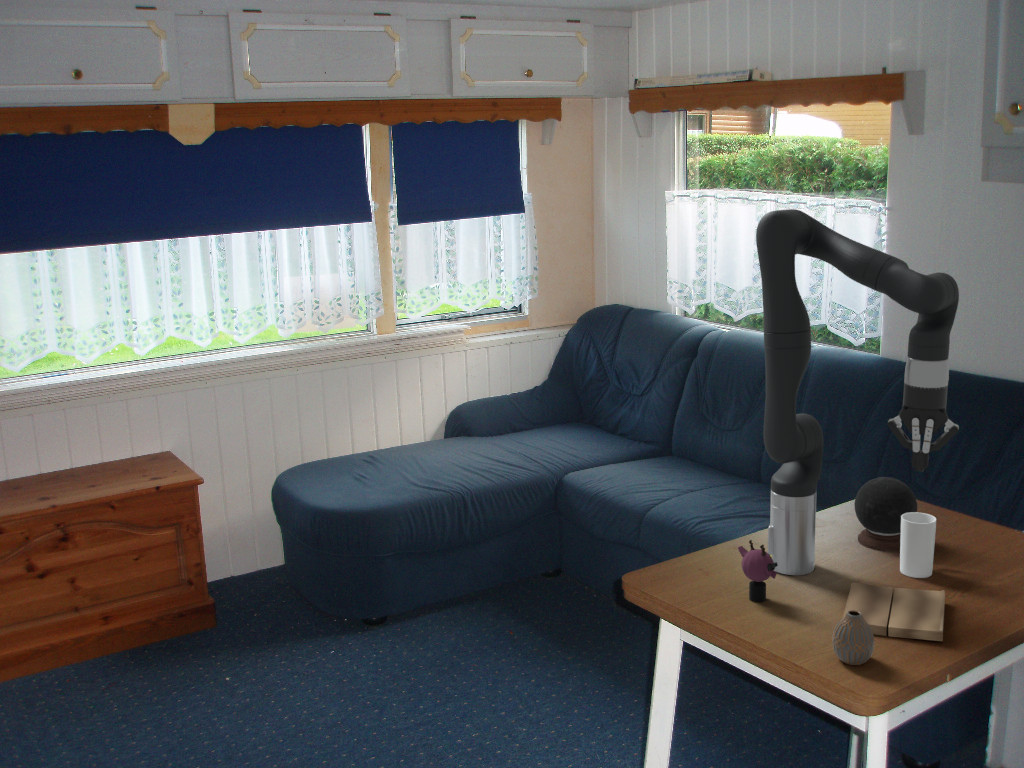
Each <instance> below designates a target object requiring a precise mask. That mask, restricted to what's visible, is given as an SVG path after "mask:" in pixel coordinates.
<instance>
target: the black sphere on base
mask: <svg viewBox="0 0 1024 768" xmlns="http://www.w3.org/2000/svg"><path fill="white" fill-rule="evenodd" d="M917 501H918V500H917V498H916V496H915V493H914V491H912V489H911V488H910V487H909V486H908V485H907V484H906V483H905V482H903V481H901V480H900V479H897V478H894V477H891V476H890V477H889V476H879V477H875V478H873V479H870V480H867V482H865V483H864V484H863V485H861V487H860V488H859V490H858V491H857V492H856V496H855V498H854V511H855V515H856V518H857V519H858V522H859V523H860V524H861V525H862V526H863V528H864V529H862V531H860V533H859V534H858V535H857V542H858V543H859V545H861V546H863V547H865V548H868V549H871V550H874V551H880V552H881V551H882V552H900V539H901V516H902V515H903V514H905V513H910V512H918V502H917Z"/></svg>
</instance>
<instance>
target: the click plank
mask: <svg viewBox="0 0 1024 768" xmlns="http://www.w3.org/2000/svg"><path fill="white" fill-rule="evenodd" d="M945 593H946V591H945V589H942V590H932V589H931V590H929V589H919V588H917V589H916V588H905V587H904V588H902V587H894V589H893V598H892V604H891V610H890V616H889V622H888V628H887V634H888V637H891V638H892V637H893V638H902V639H916V640H925V641H935V642H943V638H944V623H945V605H946V603H945V602H946V596H945Z"/></svg>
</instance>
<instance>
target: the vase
mask: <svg viewBox="0 0 1024 768" xmlns="http://www.w3.org/2000/svg"><path fill="white" fill-rule="evenodd" d="M831 639H832V640H831V641H832V647H833V651H834V653H835V655H836V657H837V658H838V659H839V660H841V662H842V663H845V664H847V665H850V666H851V665H852V666H861V665H863V664H864V663H866V662H868V661H869V660H870V658H871V657H872V655H873V653H874V649H875V645H876V644H875V634H873V631H872V629H871V627H870V626H869V624H868V623H867V622H866V621H865V619H864V618H863V616H862V614H861V612H859V611H856V610H850V611H848V612H847V613H846V615H845V616H844V617H843V616H842V618H841V619H840V620H839V621H838V622H837V623H836V625H835V627H834V629H833V632H832V638H831Z"/></svg>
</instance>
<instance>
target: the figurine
mask: <svg viewBox="0 0 1024 768" xmlns="http://www.w3.org/2000/svg"><path fill="white" fill-rule="evenodd" d="M748 544H750V545H749V547H750V550H749V551H748V550H747V549H746V548H745V547H743V545H741V546H738V547H737V550H738V552H739V555H741V557H742V560H741V570H742V571H743V574H744V575H745V576H746V578H747V579H748V580H751V581H749V584H748V585H749V586H748V587H749V588H748V589H749V591H748V593H749V594H748V599H749V600H750V602H753V601H754V602H753V603H764V602H765V601H767V583H766V582H765V581H767V580H768V579H769V578H772V579H774V580H775V579H776V576H777V574H778V572H776V571H774V569H775V567H776V566H778V565H777V562H776V563H774V562H773V560H772V555H769V554H768V551H766V548H765V544H762V545H760V546H759V548H760V549H759V548H755V547H754V545H753V544H754V543H753V540H752V539H749V541H748Z"/></svg>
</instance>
